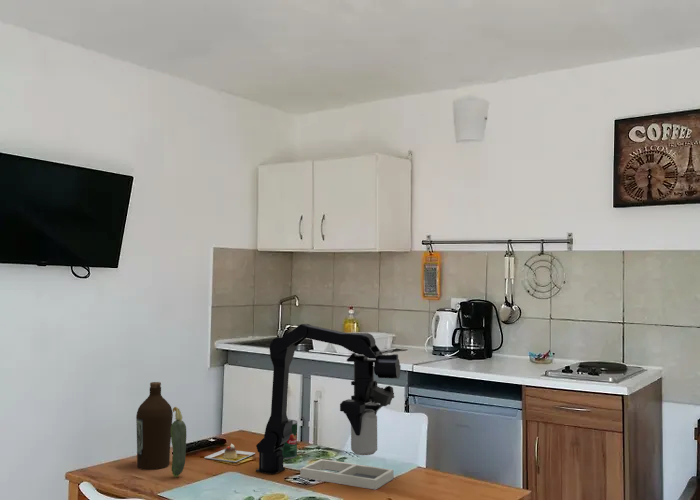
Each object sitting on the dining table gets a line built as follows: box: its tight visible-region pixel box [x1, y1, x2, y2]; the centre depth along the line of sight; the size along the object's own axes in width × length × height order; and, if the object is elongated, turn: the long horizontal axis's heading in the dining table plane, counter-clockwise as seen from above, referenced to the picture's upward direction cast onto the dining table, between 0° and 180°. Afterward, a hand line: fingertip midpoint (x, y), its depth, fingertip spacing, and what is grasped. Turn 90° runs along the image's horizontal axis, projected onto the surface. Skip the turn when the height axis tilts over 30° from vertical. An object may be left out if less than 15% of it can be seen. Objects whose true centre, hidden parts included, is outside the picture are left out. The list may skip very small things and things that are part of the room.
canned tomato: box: [280, 419, 298, 460], centre depth 216 cm, size 8×8×11 cm
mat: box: [352, 473, 378, 479], centre depth 189 cm, size 10×10×1 cm
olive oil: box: [135, 381, 174, 471], centre depth 203 cm, size 11×11×25 cm
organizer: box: [299, 458, 394, 490], centre depth 192 cm, size 24×12×2 cm, turn 63°
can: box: [350, 409, 378, 456], centre depth 190 cm, size 8×8×12 cm
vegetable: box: [171, 406, 187, 478], centre depth 190 cm, size 4×4×20 cm
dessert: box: [204, 443, 256, 463], centre depth 214 cm, size 12×12×5 cm
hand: (364, 432), depth 190 cm, fingers closed on can, 7 cm apart
